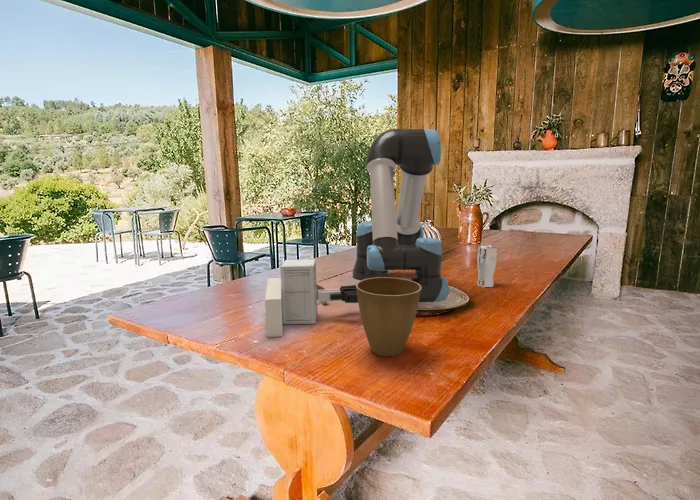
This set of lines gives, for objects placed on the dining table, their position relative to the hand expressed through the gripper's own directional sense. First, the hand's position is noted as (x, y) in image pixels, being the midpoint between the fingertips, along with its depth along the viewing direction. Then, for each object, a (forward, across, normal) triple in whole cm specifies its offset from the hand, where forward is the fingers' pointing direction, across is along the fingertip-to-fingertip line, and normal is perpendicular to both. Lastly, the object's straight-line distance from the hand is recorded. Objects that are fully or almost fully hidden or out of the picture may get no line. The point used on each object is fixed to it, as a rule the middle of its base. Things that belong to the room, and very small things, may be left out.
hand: (318, 295), depth 111 cm
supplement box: (+5, +1, -7) cm, 9 cm away
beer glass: (-66, +24, -7) cm, 71 cm away
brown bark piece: (-1, +19, -8) cm, 20 cm away
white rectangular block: (+12, 0, -7) cm, 14 cm away
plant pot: (-14, -24, -7) cm, 29 cm away
